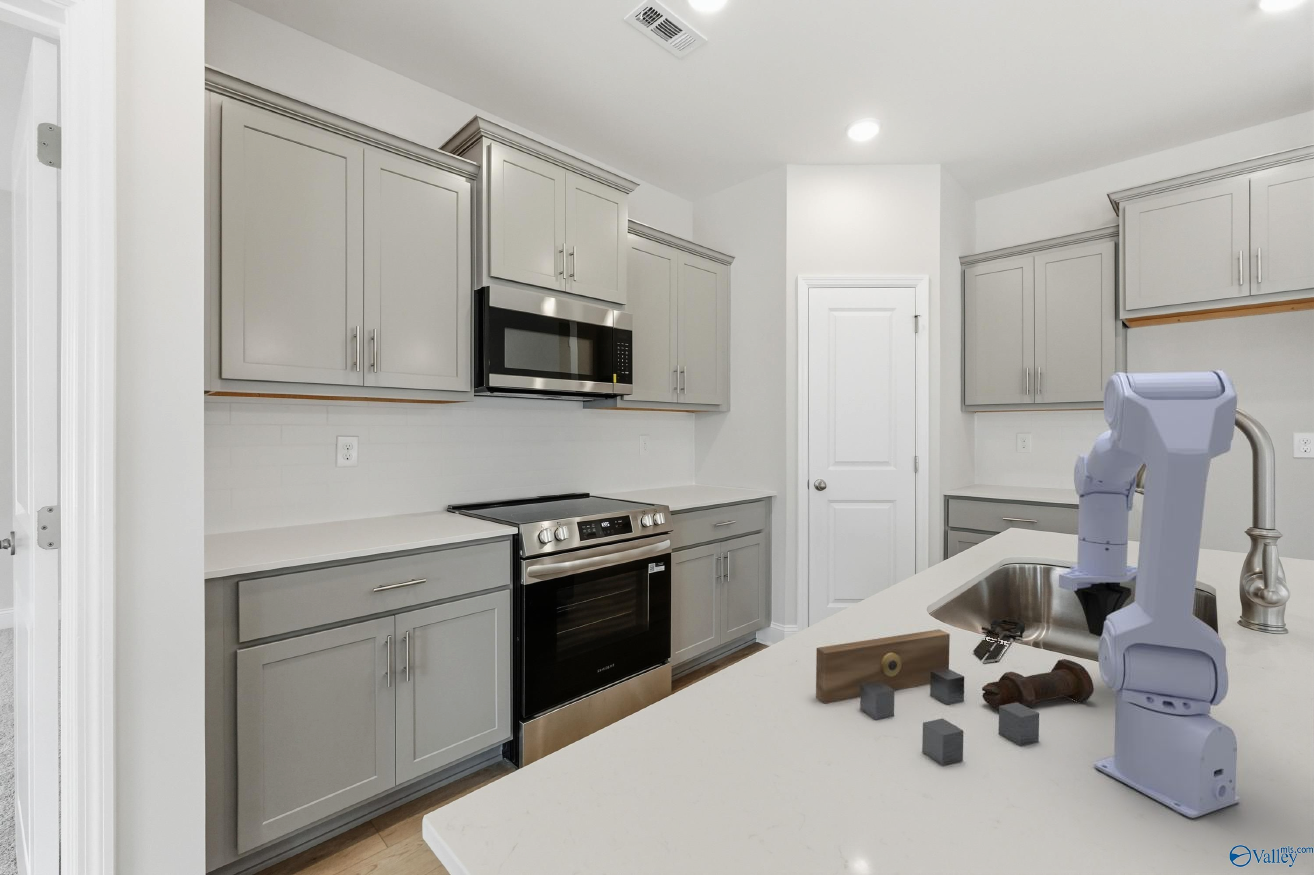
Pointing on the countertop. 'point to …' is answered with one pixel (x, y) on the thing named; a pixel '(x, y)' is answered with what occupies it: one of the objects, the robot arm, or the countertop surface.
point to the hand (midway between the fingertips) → (1099, 634)
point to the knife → (992, 633)
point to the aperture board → (880, 663)
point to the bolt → (1040, 686)
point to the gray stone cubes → (940, 734)
